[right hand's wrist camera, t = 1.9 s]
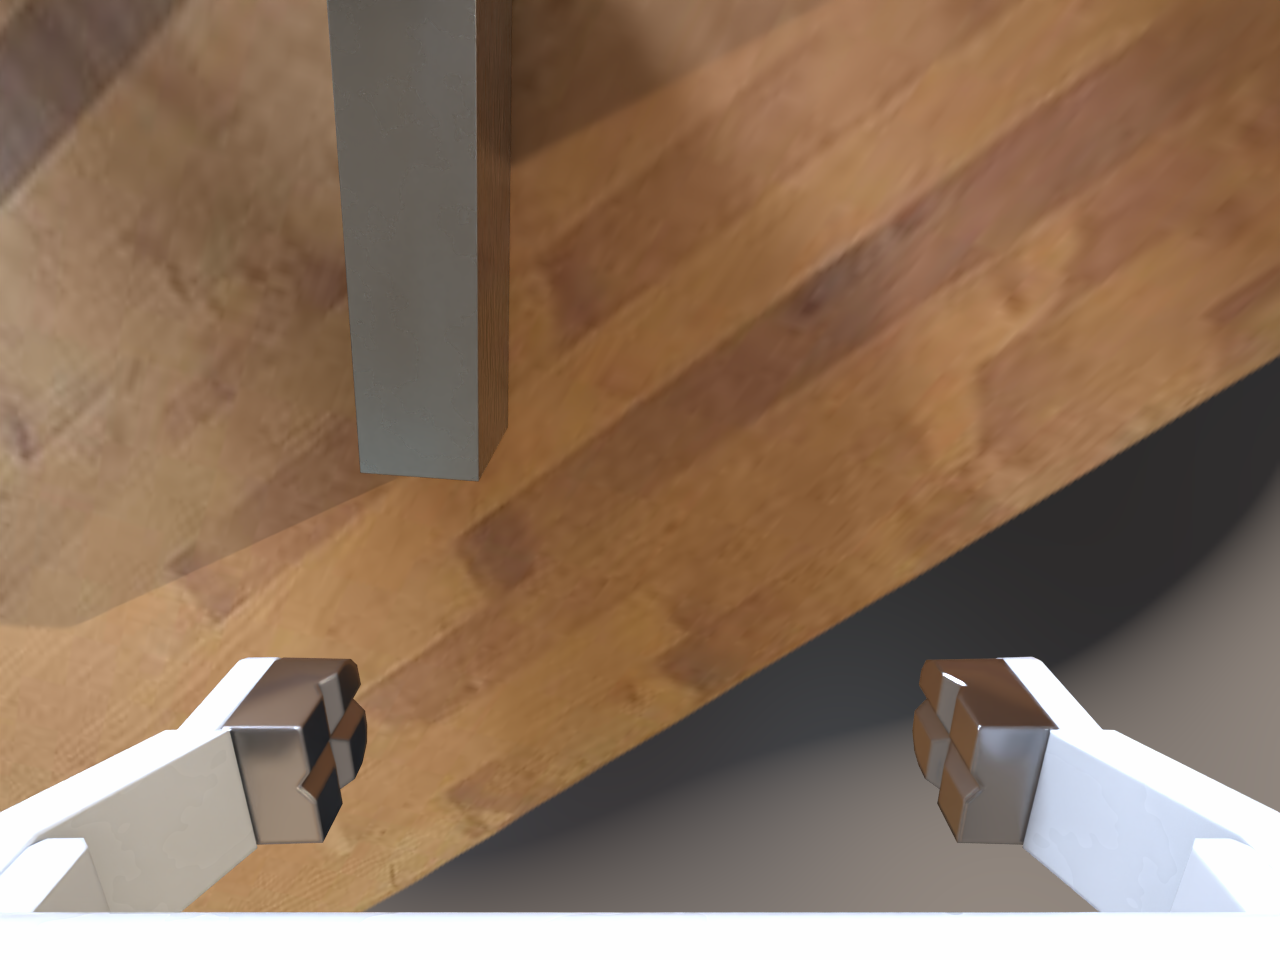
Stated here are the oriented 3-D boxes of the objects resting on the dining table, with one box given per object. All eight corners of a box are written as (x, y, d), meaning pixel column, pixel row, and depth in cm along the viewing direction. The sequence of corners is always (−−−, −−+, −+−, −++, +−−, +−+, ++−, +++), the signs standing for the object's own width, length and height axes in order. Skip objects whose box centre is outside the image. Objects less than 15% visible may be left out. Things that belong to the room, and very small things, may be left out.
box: (507, 427, 44) (478, 481, 37) (410, 420, 44) (359, 473, 36) (513, -129, 34) (474, -223, 26) (386, -142, 34) (309, -240, 26)
